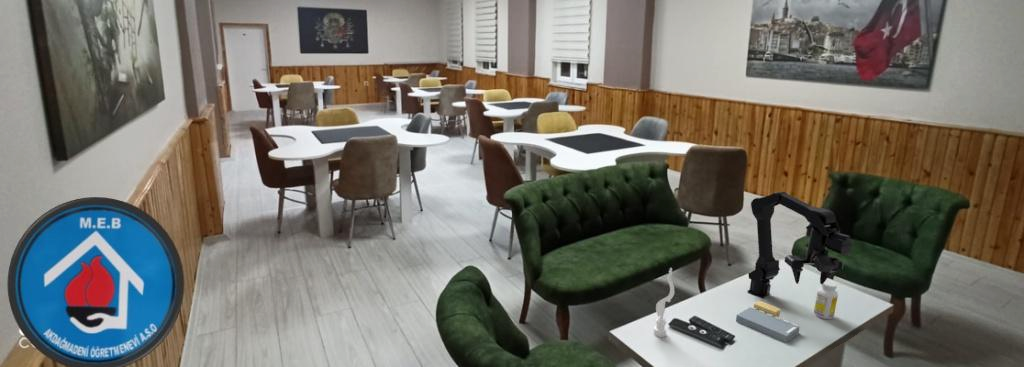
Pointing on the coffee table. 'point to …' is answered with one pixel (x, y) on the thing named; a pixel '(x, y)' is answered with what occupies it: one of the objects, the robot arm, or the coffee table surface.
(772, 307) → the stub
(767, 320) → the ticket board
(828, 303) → the supplement bottle
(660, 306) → the decorative finial
